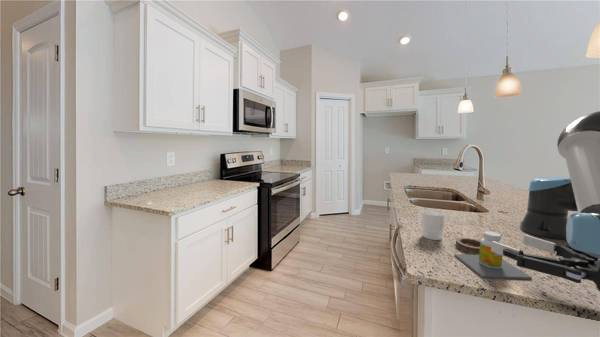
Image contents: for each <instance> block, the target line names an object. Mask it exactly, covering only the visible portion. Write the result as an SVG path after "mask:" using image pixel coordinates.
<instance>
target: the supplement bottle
mask: <svg viewBox="0 0 600 337" xmlns="http://www.w3.org/2000/svg"><path fill="white" fill-rule="evenodd" d="M501 240H502V235H501V234H500V233H498V232H495V231H490V230H489V231H488V230H487V231H483V237H482V238H481V239H480V253H479V254H478V255H479V263H480V264H482V265H484V266H486V267H489V268H493V269H499V268H501V266H502V259H503V257H504V256H503V255H500V254H497V253H495V252H492V251H491V243H492V241H495V242H498V243H501V244H504V243H503V242H502V241H501Z"/></svg>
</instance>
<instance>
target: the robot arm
mask: <svg viewBox="0 0 600 337" xmlns="http://www.w3.org/2000/svg"><path fill="white" fill-rule="evenodd" d="M556 146H557V150H558V153H559V155H560V156H561V157H563V158H564V159H565V163H566V166H567V170H568V174H569V175H568V176H569V177H566V176H562V177H561V176H550V177H548V176H546V177H537V178H533V179H531V180H530V181H529V182H530V183H529V188H528V200H527V209H526V212H525V215H524V217H523V219H522V221H521V222H520V225H519V229H520V230H521V231H522V232H524V233H527V234H523V240H522V241H523V242H522V244H523V245H525V246H527V247H531V248H534V249H537V250H540V251H544V252H547V253H550V254H553V255H554V254H555V256H556V257H558V258H554V257H550V256H549V257H548V256H543V255H537V254H532V253H525V252H524V250H523V249H518V248H515V247H512V246H509V245H506V244H504V243H503V244H501V243H498V242H495V241H492V243H491V251H492V252H495V253H497V254H500V255H503V256H502V257H506V258H507V259H508V258H509V259H511V260H512V261H516V266H517V267H520V268H523V269H527V270H530V271H535V272H538V273H542V274H546V275H550V276H554V277H557V278H561V279H565V280H568V281H570V282H574V283H576V284H581V282H582V280H584V281H585V280H587V281H592V282H593V283H594V284H595V287H596V289H597V290H598V291H599V292H600V111H595V112H591V113H588V114H586V115H584V116H581V117H579V118H577V119H575V120H574V121H573V122H571V123H569V124H568V125H567V126H566V127H565V128H564V129H563V130H562V132H561V133H560V135H559V136H558V139H557V142H556ZM569 212H573V213H570V214H569ZM528 234H530V235H528ZM531 235H534V236H537V237H534V236H531ZM539 237H541V238H546V239H554V240H566V242H567V243H564V244H562V243H555V242H552V241H549V240H545V239H541V238H539Z"/></svg>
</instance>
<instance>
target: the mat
mask: <svg viewBox="0 0 600 337" xmlns="http://www.w3.org/2000/svg"><path fill="white" fill-rule="evenodd" d="M454 257H455V258H457V259H458V261H460V262H461V263H463V264H464V265H465V266H467V267H468V268H470V270H472V272H474V273H475V274H477V275H478V276H479V277H480V278H482V279H505V280H507V279H510V280H511V279H512V280H532V279H533V277H532V276H531V275H529V274H527V273H526V272H525V271H523V270H520V269H519V268H517V267H516V266H514V265H513V264H511V263H509V262H508V261H506V260H505V259H503V258H502V266H501V268H499V269H493V268H489V267H486V266H484V265H482V264H480V263H479V254H460V253H459V254H456V253H455V254H454Z"/></svg>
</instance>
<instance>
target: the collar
mask: <svg viewBox="0 0 600 337" xmlns="http://www.w3.org/2000/svg"><path fill="white" fill-rule="evenodd" d="M480 241H481V239H480V240H479V239H476V238H471V237H458V238H456V239H455V247H456V248H457V249H459V250H461V251H464V252H465V253H469V254H473V255H479V253H480Z"/></svg>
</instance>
